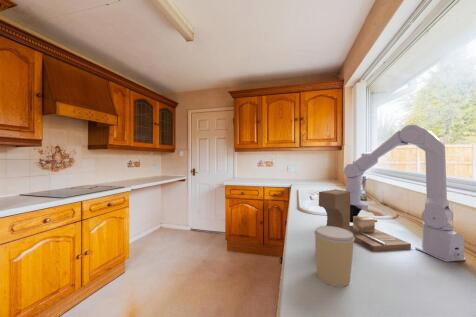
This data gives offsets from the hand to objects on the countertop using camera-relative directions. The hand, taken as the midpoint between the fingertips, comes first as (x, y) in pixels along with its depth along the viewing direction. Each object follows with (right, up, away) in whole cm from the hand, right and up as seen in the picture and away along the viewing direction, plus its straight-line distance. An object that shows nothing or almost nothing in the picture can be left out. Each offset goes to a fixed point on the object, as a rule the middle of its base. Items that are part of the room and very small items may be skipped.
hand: (352, 222), depth 91 cm
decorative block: (-19, -3, -22) cm, 29 cm away
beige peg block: (+3, -1, -6) cm, 7 cm away
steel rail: (-2, -1, -11) cm, 11 cm away
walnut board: (+1, -3, -10) cm, 11 cm away
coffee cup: (-26, -3, -37) cm, 46 cm away
